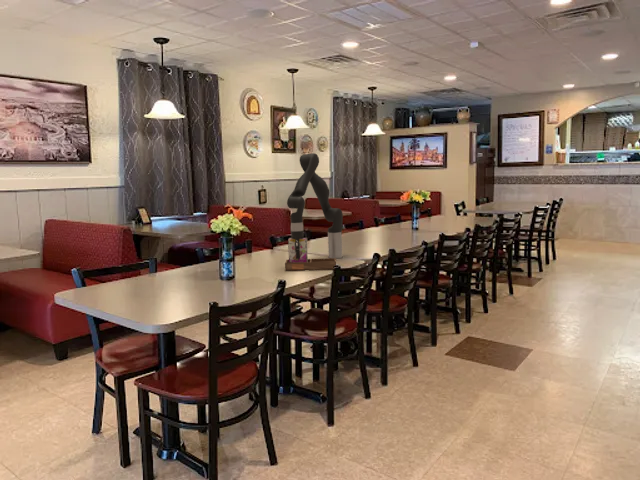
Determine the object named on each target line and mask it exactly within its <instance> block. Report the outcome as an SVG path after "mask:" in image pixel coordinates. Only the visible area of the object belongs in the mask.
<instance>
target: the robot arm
mask: <svg viewBox="0 0 640 480" xmlns="http://www.w3.org/2000/svg"><path fill="white" fill-rule="evenodd" d="M319 163H320V158H319V156H318V153H317V154H316V153H315V152H312V153H305V154H301V155H300V157H299V165H300V168H301V169H302V170H303V173H302V175H300V176H299V178H298V179H297V181H296V183H295V186H294V189H293V191H292V192H291V193H290V195H289V196H288V198H287V201H286V205H287V207H288V208H290V209H296V211H294V212H292V213H291V214H290V238H295V252H296V259H300V247H299V238H305V237H304V236H305V235H304V234H305V233H304V221H303V213H304V211H305V210H304V209H305V204H306V200H305V198H304V196H305V195H306V193H307V189H308V186H309V183H310V185H311V188H312V190H313V192H314V194H315V196H316V198H317V200H318V203H319V205H320V206H321V207H320V208H321V210H322V213H323V215H324V216H323V217H324V218H325V220H326V221H327V222H329V223H332V226H330V227H328V228H327V239H328V240H327V245H328V246H327V247H328V248H327V249H328V251H327V252H328V258H336V259H342V257H343V239H342V238H343V237H342V231H343V219H344V218H343V217H344V216H343V210H342V209H341V208H338V207H335V208H334V207H332V206H331V204H330V202H329V198H330V189H329V187H328V184H327V182H326V181H325V179H324V178H322V177H321V176H320V175H318V174H317V173H316V170H317V169H318V166H319ZM296 249H299V250H296Z"/></svg>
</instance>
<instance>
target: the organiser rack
mask: <svg viewBox="0 0 640 480" xmlns="http://www.w3.org/2000/svg"><path fill="white" fill-rule="evenodd" d="M335 265H336V266H337V258H329V257H328V258H308V262H292V263H289V259H286V260H285V263H284V268H285V269H284V271H285V272H301V271H302V272H304V271H305V270H309V271H334V270H333V266H335Z"/></svg>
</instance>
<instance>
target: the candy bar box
mask: <svg viewBox="0 0 640 480" xmlns="http://www.w3.org/2000/svg"><path fill="white" fill-rule="evenodd" d="M287 242H288V243H287V245H288V260H289V263H292V262H308V259H309V258H308V257H309V255H308V254H309V253H308V251H309V250H308V237H303V238H299V247H300V259H296V252H295V238H291V237H289V238H288V239H287ZM296 250H299V249H296Z"/></svg>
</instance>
